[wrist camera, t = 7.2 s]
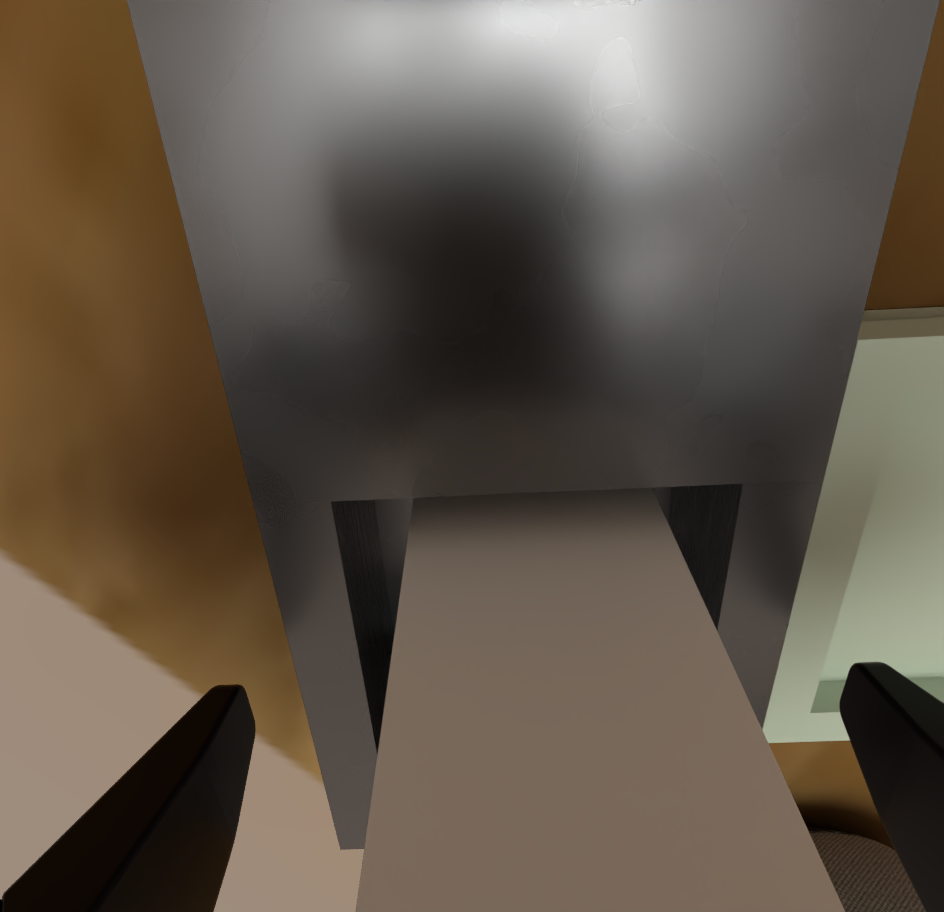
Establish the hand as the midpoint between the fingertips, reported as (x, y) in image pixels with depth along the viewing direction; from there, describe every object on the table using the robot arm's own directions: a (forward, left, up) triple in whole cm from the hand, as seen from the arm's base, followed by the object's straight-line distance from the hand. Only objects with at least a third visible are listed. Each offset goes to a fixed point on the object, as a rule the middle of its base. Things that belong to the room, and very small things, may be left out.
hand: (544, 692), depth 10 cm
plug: (0, 0, -4) cm, 4 cm away
